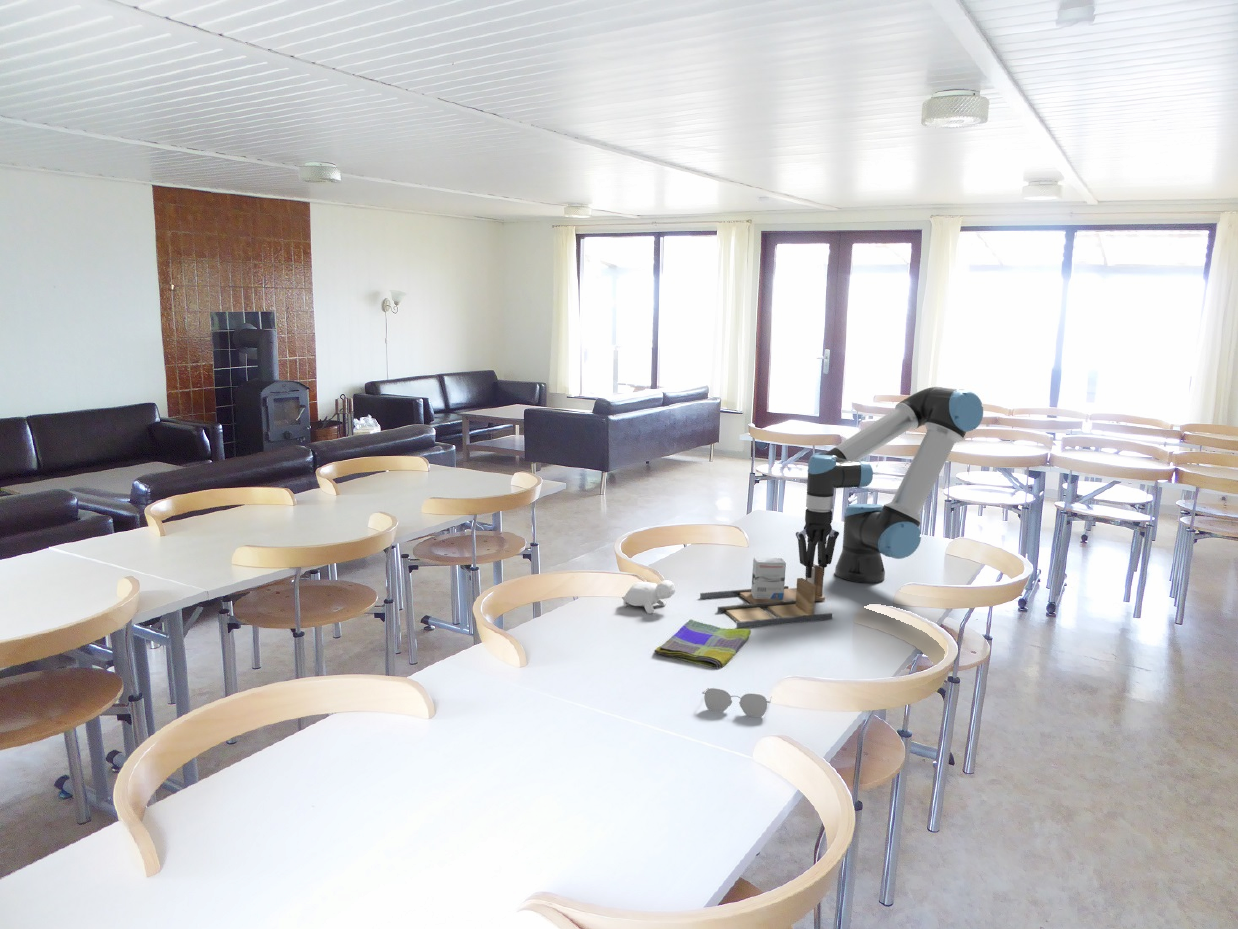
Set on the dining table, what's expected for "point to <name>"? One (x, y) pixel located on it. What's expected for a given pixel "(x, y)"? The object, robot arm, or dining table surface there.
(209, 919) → the dining table surface
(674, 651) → the dish towel
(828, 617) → the lane rails
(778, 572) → the ink box
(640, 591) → the white animal figurine
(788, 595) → the tan wooden holder
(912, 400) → the robot arm
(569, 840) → the dining table surface
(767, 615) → the wooden l-shaped stand
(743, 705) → the sunglasses
